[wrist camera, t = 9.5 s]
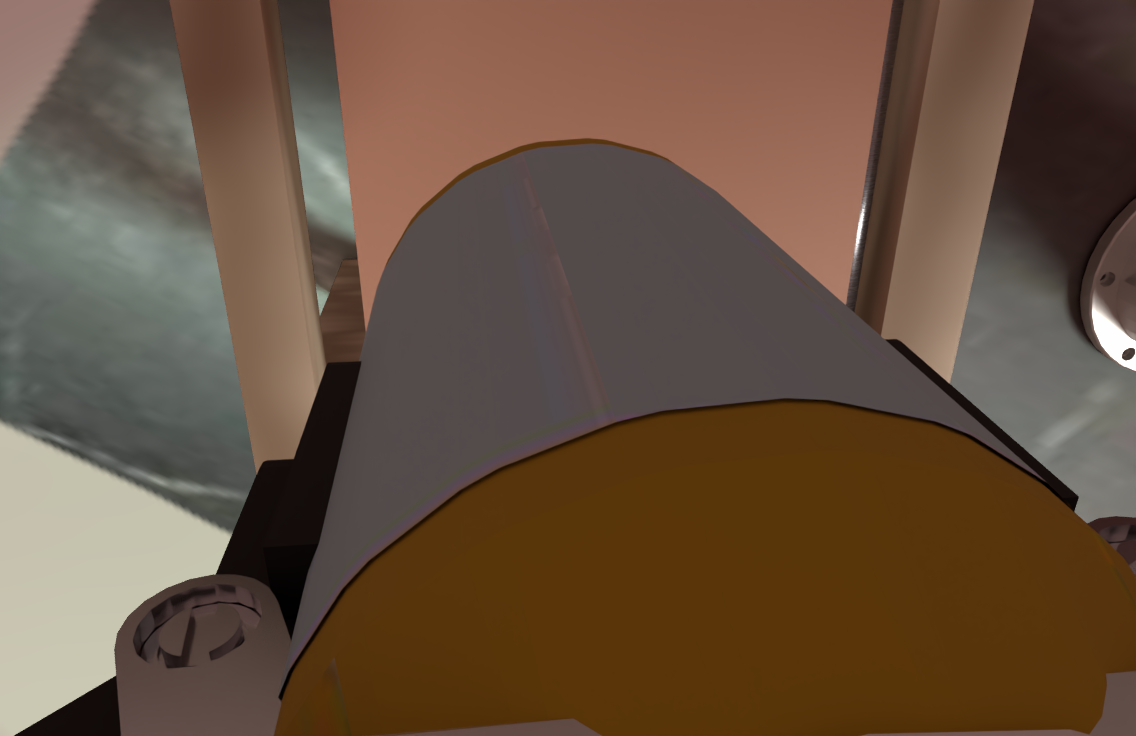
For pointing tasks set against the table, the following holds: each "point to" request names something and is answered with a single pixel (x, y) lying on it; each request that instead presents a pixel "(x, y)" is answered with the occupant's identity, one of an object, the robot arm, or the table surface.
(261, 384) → the trapdoor frame
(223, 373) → the table surface
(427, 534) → the bottle
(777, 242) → the trapdoor
